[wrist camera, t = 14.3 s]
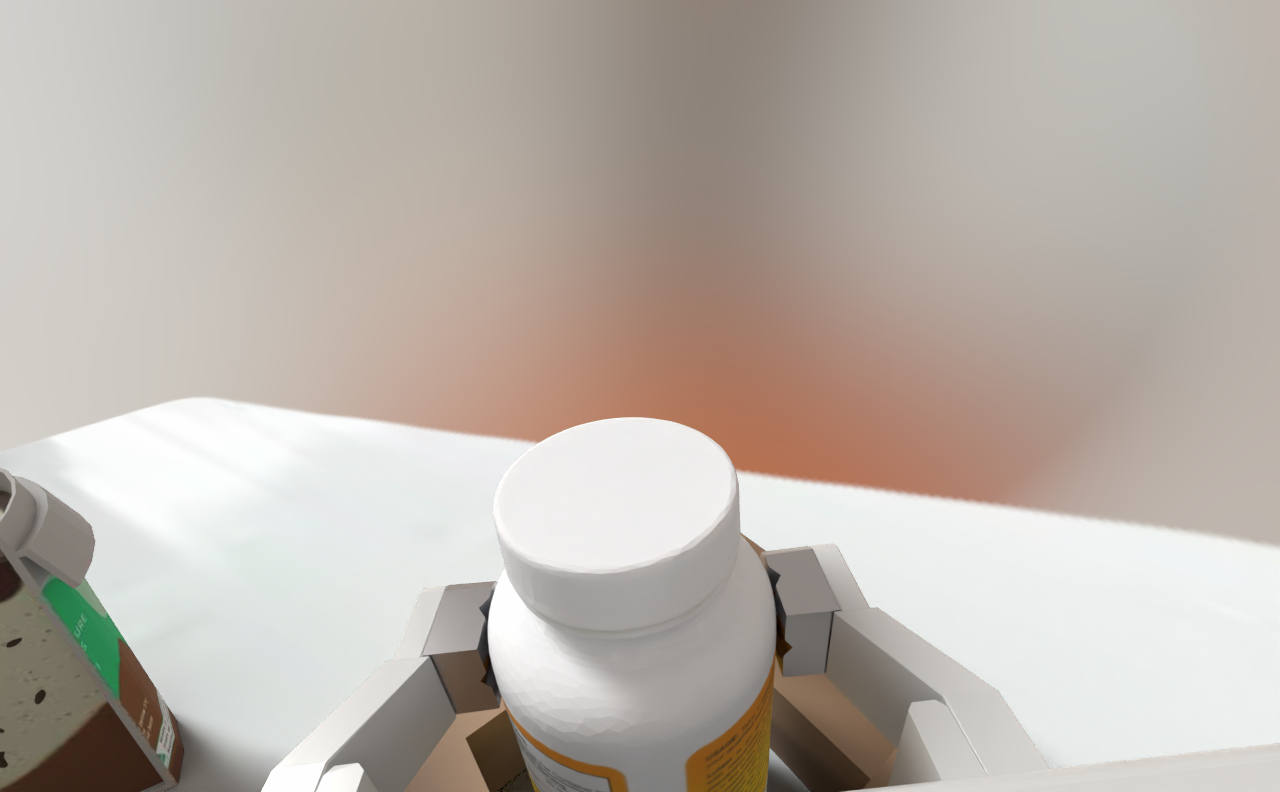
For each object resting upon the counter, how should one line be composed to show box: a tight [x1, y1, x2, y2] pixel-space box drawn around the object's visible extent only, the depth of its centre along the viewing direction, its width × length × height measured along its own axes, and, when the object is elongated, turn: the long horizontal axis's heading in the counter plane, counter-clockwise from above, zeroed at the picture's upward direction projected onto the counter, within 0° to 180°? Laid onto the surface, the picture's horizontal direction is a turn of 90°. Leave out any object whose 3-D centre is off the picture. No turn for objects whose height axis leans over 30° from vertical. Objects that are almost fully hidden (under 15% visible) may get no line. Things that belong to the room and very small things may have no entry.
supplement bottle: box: [488, 417, 776, 792], centre depth 11 cm, size 5×5×10 cm
